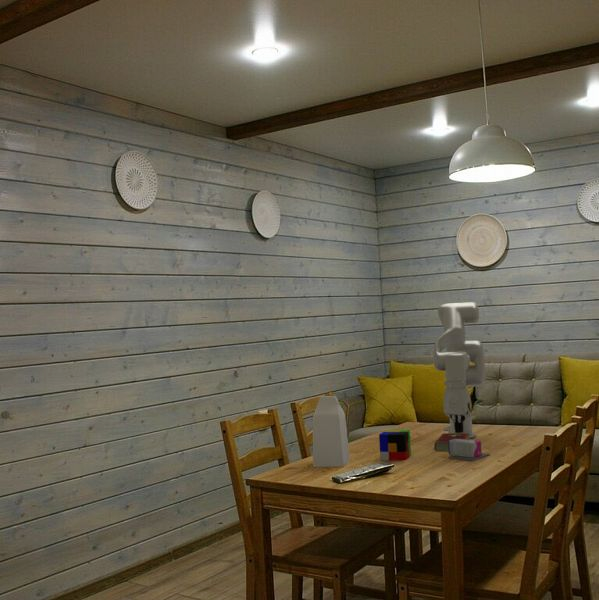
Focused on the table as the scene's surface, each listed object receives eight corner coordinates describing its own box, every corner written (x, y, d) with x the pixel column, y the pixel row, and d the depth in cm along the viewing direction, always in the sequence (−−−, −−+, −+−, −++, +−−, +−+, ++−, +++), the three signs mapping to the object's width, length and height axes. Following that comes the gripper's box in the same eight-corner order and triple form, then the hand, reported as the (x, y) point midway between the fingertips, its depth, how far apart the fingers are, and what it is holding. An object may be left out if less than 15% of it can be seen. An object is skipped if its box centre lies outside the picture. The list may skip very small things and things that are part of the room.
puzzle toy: (380, 460, 288) (379, 434, 288) (386, 455, 297) (385, 430, 298) (405, 460, 285) (404, 434, 285) (411, 455, 294) (409, 430, 294)
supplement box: (448, 455, 288) (473, 458, 279) (447, 440, 288) (472, 442, 279) (457, 453, 292) (482, 455, 283) (456, 438, 292) (481, 440, 283)
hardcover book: (434, 451, 301) (434, 441, 301) (442, 442, 321) (441, 432, 321) (464, 452, 297) (464, 441, 297) (470, 442, 317) (470, 432, 317)
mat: (449, 458, 283) (449, 457, 283) (467, 452, 293) (467, 451, 293) (471, 461, 276) (471, 459, 276) (490, 455, 285) (490, 453, 285)
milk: (313, 466, 283) (309, 398, 284) (320, 460, 294) (316, 395, 295) (343, 466, 280) (339, 397, 280) (349, 460, 291) (346, 394, 291)
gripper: (434, 385, 291) (437, 432, 290) (467, 386, 280) (470, 435, 280) (445, 383, 296) (448, 429, 295) (478, 384, 285) (481, 432, 285)
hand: (459, 432), depth 287 cm, fingers closed
